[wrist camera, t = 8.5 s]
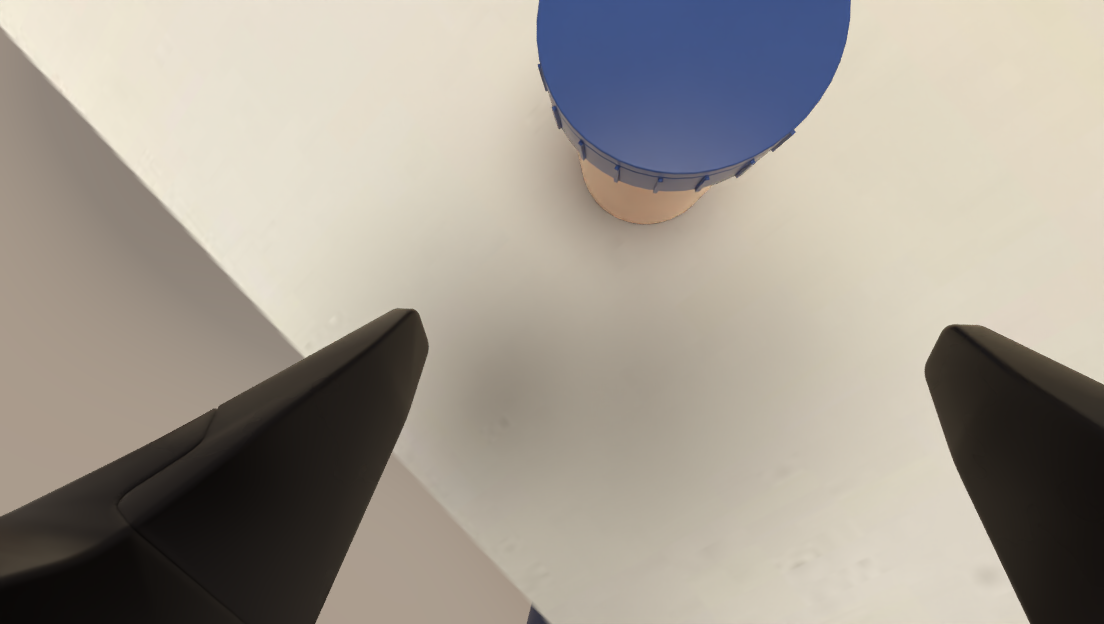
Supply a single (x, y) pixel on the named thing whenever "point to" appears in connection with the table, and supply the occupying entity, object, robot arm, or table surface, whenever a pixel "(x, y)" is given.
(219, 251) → the table surface
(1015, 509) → the robot arm
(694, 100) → the lid
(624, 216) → the jar
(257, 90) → the table surface
